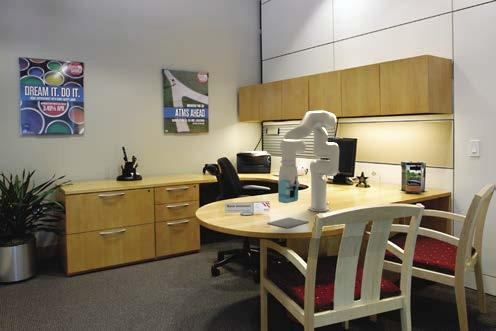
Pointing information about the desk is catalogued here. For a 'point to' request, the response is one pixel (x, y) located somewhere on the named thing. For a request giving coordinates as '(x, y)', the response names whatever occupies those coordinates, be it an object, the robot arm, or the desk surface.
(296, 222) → the desk mat
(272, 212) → the desk surface
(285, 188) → the teal rounded box
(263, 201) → the desk surface
